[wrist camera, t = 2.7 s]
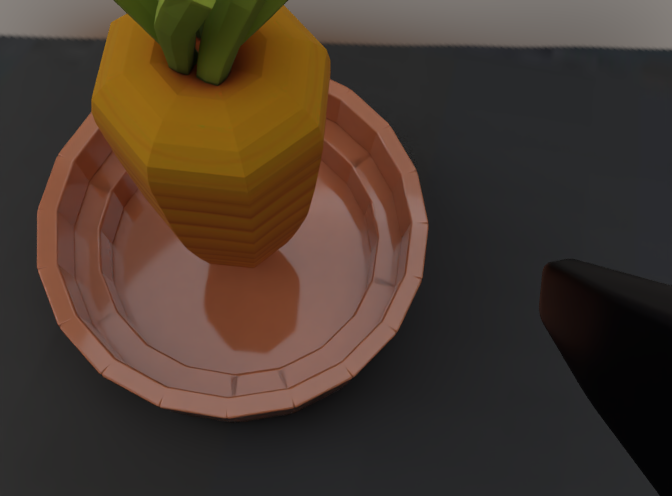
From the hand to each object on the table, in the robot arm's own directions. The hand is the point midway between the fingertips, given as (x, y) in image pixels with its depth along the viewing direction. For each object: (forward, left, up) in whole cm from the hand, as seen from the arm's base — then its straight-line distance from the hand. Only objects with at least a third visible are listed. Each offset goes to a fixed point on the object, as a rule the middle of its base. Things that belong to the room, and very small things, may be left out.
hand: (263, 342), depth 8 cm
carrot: (+5, -3, -12) cm, 13 cm away
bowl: (+5, -3, -12) cm, 13 cm away
